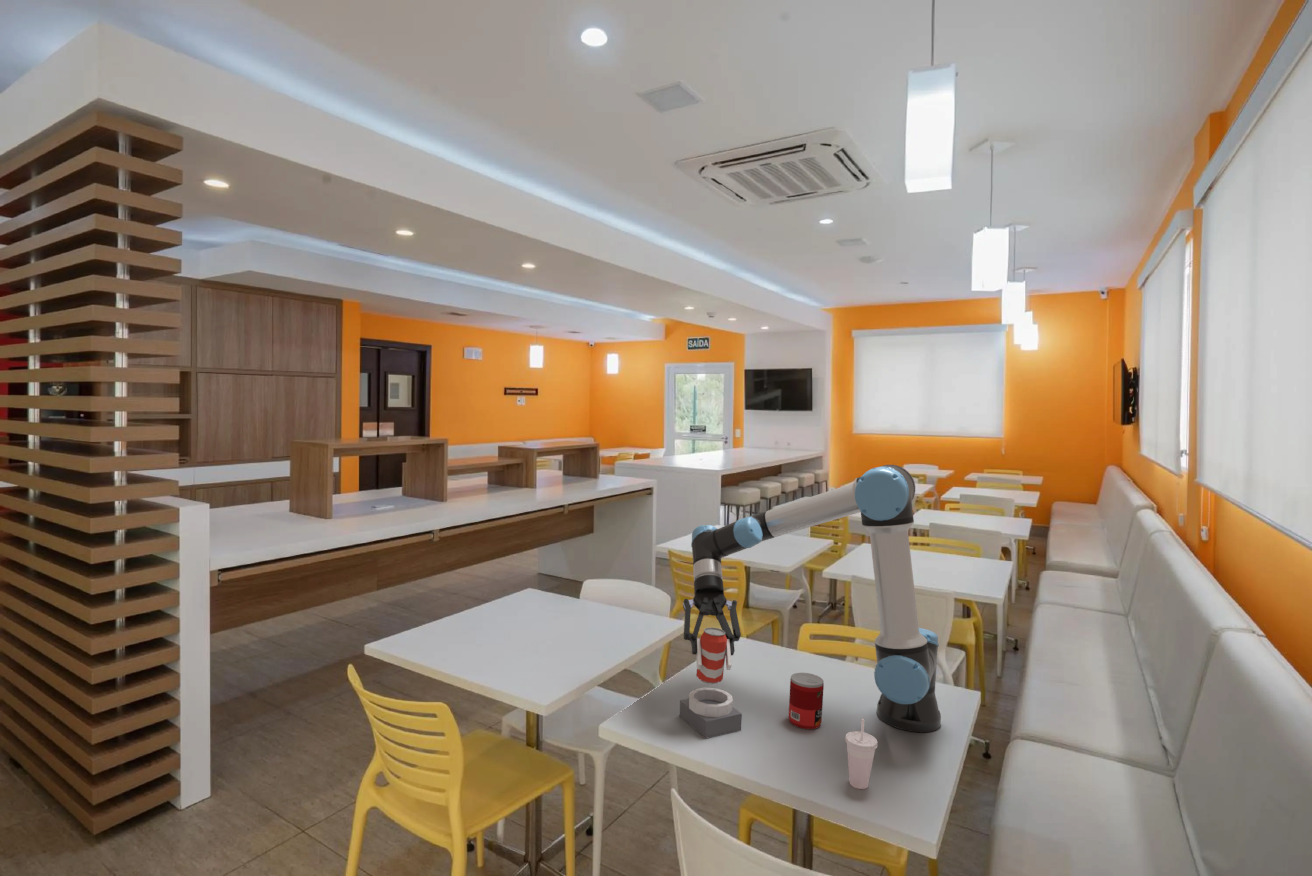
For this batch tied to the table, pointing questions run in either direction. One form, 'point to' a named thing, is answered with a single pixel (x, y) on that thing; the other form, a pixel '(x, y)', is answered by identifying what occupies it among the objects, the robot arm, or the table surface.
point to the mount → (710, 712)
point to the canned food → (806, 700)
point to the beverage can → (712, 655)
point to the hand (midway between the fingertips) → (714, 667)
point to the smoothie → (860, 756)
